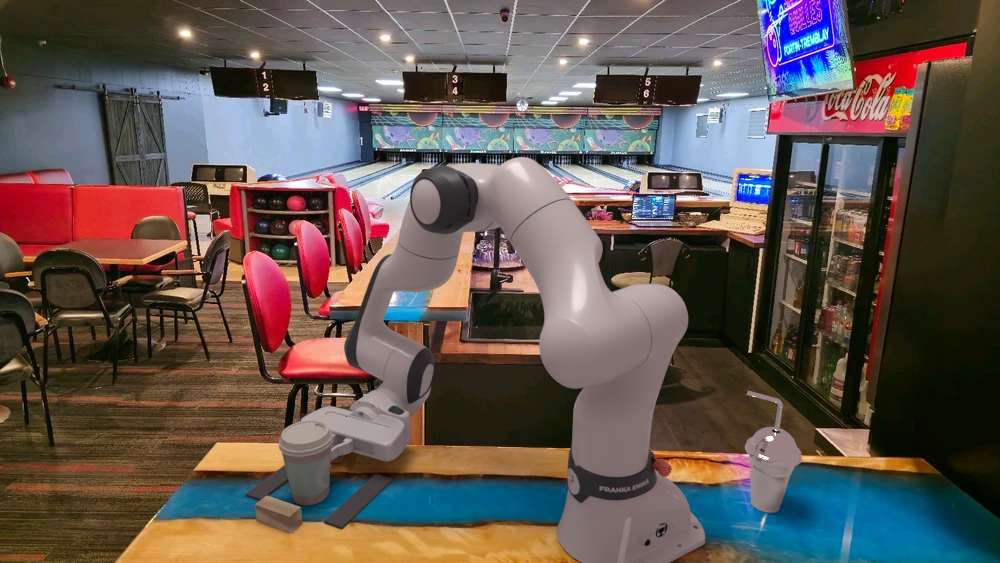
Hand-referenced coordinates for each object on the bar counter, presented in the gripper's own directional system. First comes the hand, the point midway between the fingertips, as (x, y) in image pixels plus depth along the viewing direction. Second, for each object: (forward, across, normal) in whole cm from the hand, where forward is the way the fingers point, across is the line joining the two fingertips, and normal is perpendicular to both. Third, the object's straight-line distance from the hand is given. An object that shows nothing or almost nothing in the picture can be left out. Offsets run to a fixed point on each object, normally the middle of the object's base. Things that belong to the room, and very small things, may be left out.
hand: (324, 454), depth 106 cm
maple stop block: (+11, 0, +6) cm, 13 cm away
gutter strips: (+2, 0, +6) cm, 6 cm away
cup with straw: (-26, +69, +6) cm, 74 cm away
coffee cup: (+4, 0, +6) cm, 7 cm away
